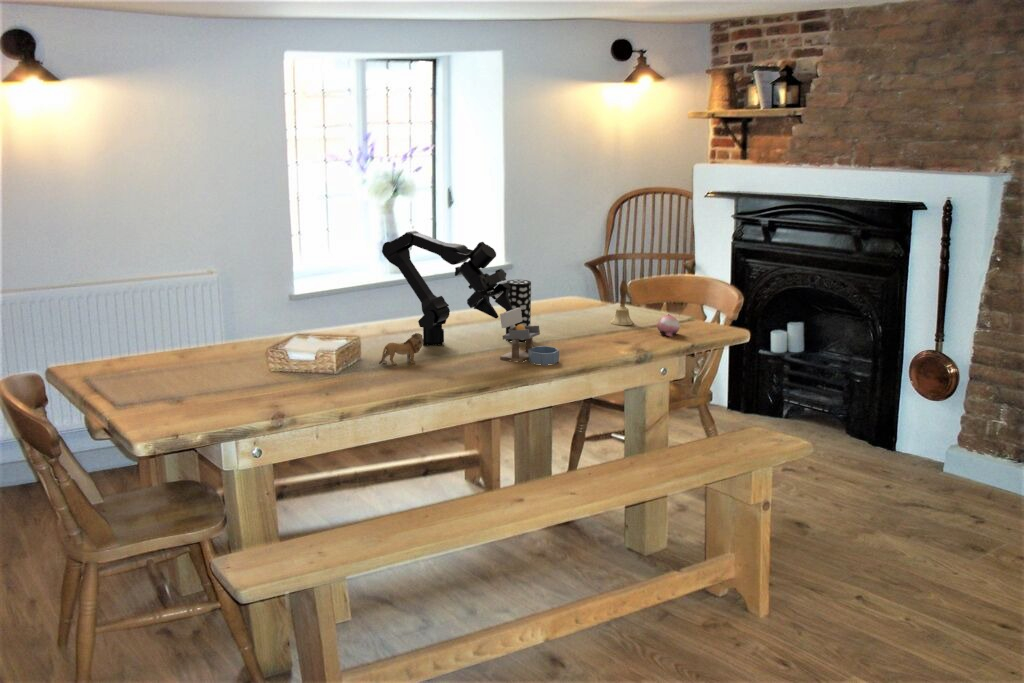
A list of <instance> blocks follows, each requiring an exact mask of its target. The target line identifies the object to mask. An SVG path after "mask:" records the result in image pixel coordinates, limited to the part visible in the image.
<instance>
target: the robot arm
mask: <svg viewBox="0 0 1024 683" xmlns="http://www.w3.org/2000/svg"><path fill="white" fill-rule="evenodd" d="M413 246H415V247H417V248H420V249H422V250H425V251H428V252H430V253H432V254H435V255H437V256H440V258H441V259H442V260H443V261H445V262H446V263H448V264H449V265H453V266H454V265H455V266H456V265H459V264H461V265H460V266H456V267H455V271H454V277H458V276H460V275H462V277H463V278H464V279H465V281H467V283H468V284H469V285H468V286H467V287H468V288H469V290H472V289H473V291H474V292H473V293H472V294H471V295H470V296H469V298H467V300H466V304H467V305H468V307H469V308H470V309H472V308H473V309H474V310H477V311H480V312H481V313H484V314H486V315H488V316H490V317H492V318H494V319H495V320H496V319H498V318H499V317H500V315H498V313H497V311H496V310H495V308H494V307H493V305H492V304H491V300H490V298H491V299H492V300H494V302H495V303H496V304H497V305H499V306H500V307H502V308H503V309H505V311H506V310H507V311H510V310H513V309H512V306H511V303H510V300H509V297H508V294H509V291H510V288H511V286H510V285H509V284H508V283H507V279H506V278H507V272H506V271H505V270H504V269H503V268H498V269H496V270H495V272H494V273H492V274H489V273H484V272H483V271H482V270H481V269H486V268H487V266H488V265H489V264H490V263H492V261H493V260H494V259H495V258H496V257H497V252H496V250H495V249H494V248H493V247H491V246H490V245H488V244H486V243H485V242H484V241H480V242H478V244H476V246H475V247H474V249H470V248H468V247H467V245H465V244H461V243H449V242H445V241H442V240H439V239H437V238H434V237H431V236H428V235H426V234H422V233H421V232H419V231H416V230H411V231H407V232H405V233H404V234H402V235H401V236H399V237H396V238H394V239H393V240H390V241H385V242H384V243H383V244H382V248H381V253H382V255H383V256H384V257H383V258H385V259H386V260H387V261H388V262H389V263H391V265H393V266H395V267H396V268H397V269H398V270H399V271H400V272H401V274H402V276H403V278H404V279H405V280H406V282H407V283H408V285H409V286H410V288H411V289H412V291H413V292H414V294H415V295H416V297H417V298H418V299H419V301H420V303H421V311H422V314H423V315H422V317H420V319H419V320H418V321H417V322H418V325H419V328H422V329H423V330H422V338H423V344H422V346H443V343H445V329H444V328H443V325H445V324H446V322H447V319H449V317H450V312H451V310H450V308H449V303H447V301H446V300H445V297H443V296H442V295H440V296H436V295H435V294H434V293H433V292H432V290H431V288H430V287H429V285H428V284H427V283H426V281H425V279H424V278H423V276H421V273H420V272H419V271H418V268H417V267H416V266H415V265H414V263H413V262H412V260H411V252H410V248H412V247H413Z"/></svg>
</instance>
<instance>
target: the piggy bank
mask: <svg viewBox="0 0 1024 683" xmlns="http://www.w3.org/2000/svg"><path fill="white" fill-rule="evenodd" d="M656 328H657V330H658V331H659V333H660V334H661V335H663V336H667V337H669V338H674V337H675V335H677V334H678V332H679V331H680V328H681V325H680V322H679V320H678V319H677V318H676V317H675V316H673V315H672V314H670V313H667V314H666V315H664V316H662V317H660V318H659V319H658V321H657V324H656Z"/></svg>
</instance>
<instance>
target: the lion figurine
mask: <svg viewBox="0 0 1024 683" xmlns="http://www.w3.org/2000/svg"><path fill="white" fill-rule="evenodd" d="M422 347H423V334H421V333H419V332H415V333H413V334H411V337H410V338H408V339H407V340H406V341H404V342H402V343H401V342H400V343H398V342H389V343H387V344H386V345H385V346H384V348H383V351H382V355H381V360H380V361H379V362H378V364H379V365H381V364H382V363H383V364H386V363H387V362H388V361H387V360H385V359H387V357H389V362H390V363H391V365H392V366H396V365H397V363H396V362H395V360H394V357H395V355H396V354H397V355H400V356H403V355H406V360H407V362H409V361H410V362H411V364H413V363H414V364H416V361H414V359H415V354H416V353H420V350H421V349H422Z"/></svg>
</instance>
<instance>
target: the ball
mask: <svg viewBox="0 0 1024 683" xmlns="http://www.w3.org/2000/svg"><path fill="white" fill-rule="evenodd" d="M515 330H525V326H524V325H522V324H519V325H517V326H516V328H515Z"/></svg>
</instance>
